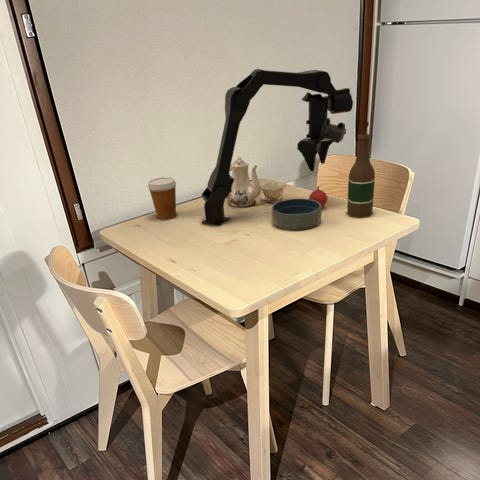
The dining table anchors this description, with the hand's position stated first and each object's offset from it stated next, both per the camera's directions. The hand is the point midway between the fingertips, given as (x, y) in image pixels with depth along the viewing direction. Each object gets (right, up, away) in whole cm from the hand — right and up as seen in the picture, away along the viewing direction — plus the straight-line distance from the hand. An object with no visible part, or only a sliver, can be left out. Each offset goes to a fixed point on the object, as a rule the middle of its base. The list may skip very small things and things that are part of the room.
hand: (317, 167), depth 158 cm
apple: (+1, -12, +4) cm, 13 cm away
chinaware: (-22, -7, +16) cm, 28 cm away
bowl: (-7, -19, -6) cm, 21 cm away
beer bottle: (+13, -16, -3) cm, 21 cm away
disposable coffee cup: (-50, -14, +8) cm, 53 cm away
